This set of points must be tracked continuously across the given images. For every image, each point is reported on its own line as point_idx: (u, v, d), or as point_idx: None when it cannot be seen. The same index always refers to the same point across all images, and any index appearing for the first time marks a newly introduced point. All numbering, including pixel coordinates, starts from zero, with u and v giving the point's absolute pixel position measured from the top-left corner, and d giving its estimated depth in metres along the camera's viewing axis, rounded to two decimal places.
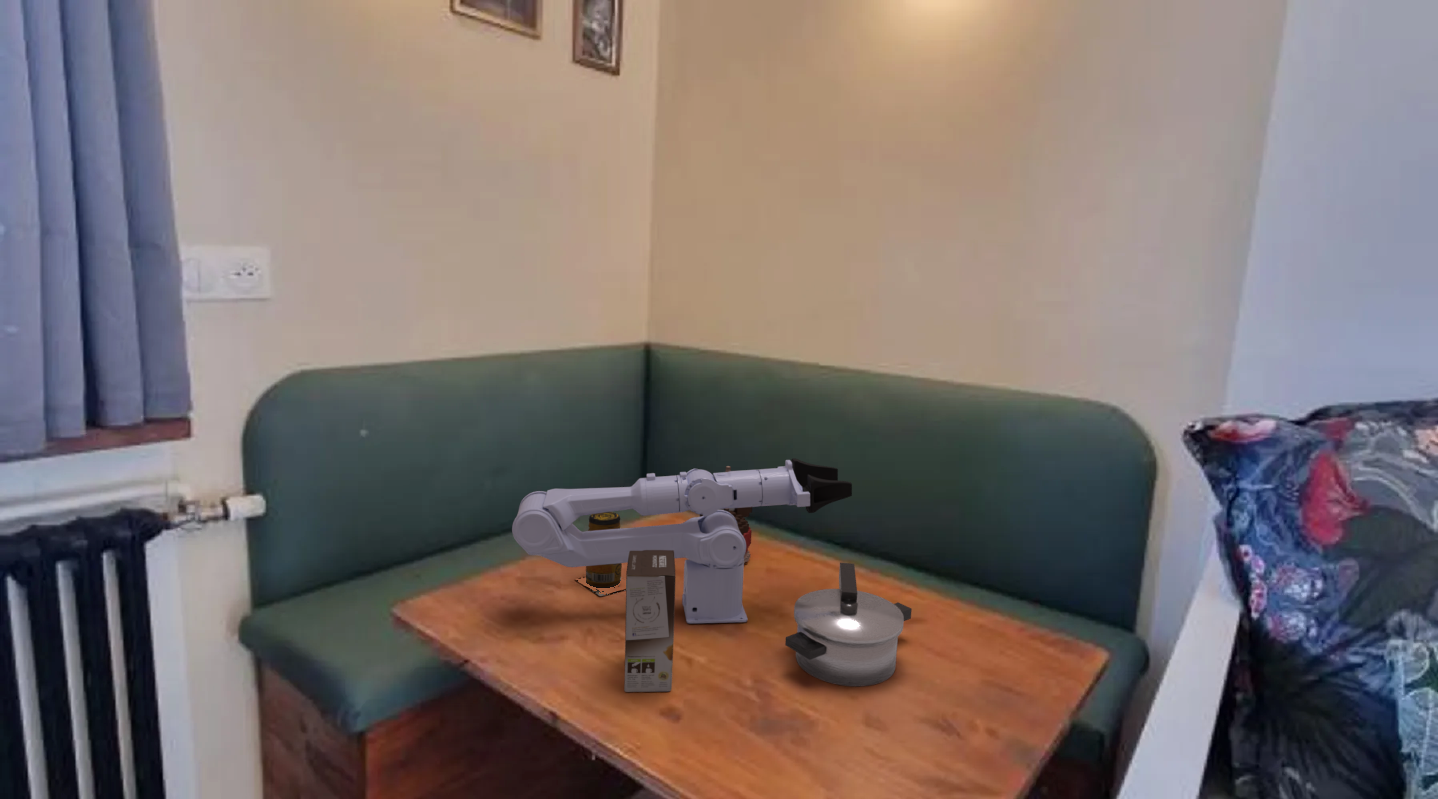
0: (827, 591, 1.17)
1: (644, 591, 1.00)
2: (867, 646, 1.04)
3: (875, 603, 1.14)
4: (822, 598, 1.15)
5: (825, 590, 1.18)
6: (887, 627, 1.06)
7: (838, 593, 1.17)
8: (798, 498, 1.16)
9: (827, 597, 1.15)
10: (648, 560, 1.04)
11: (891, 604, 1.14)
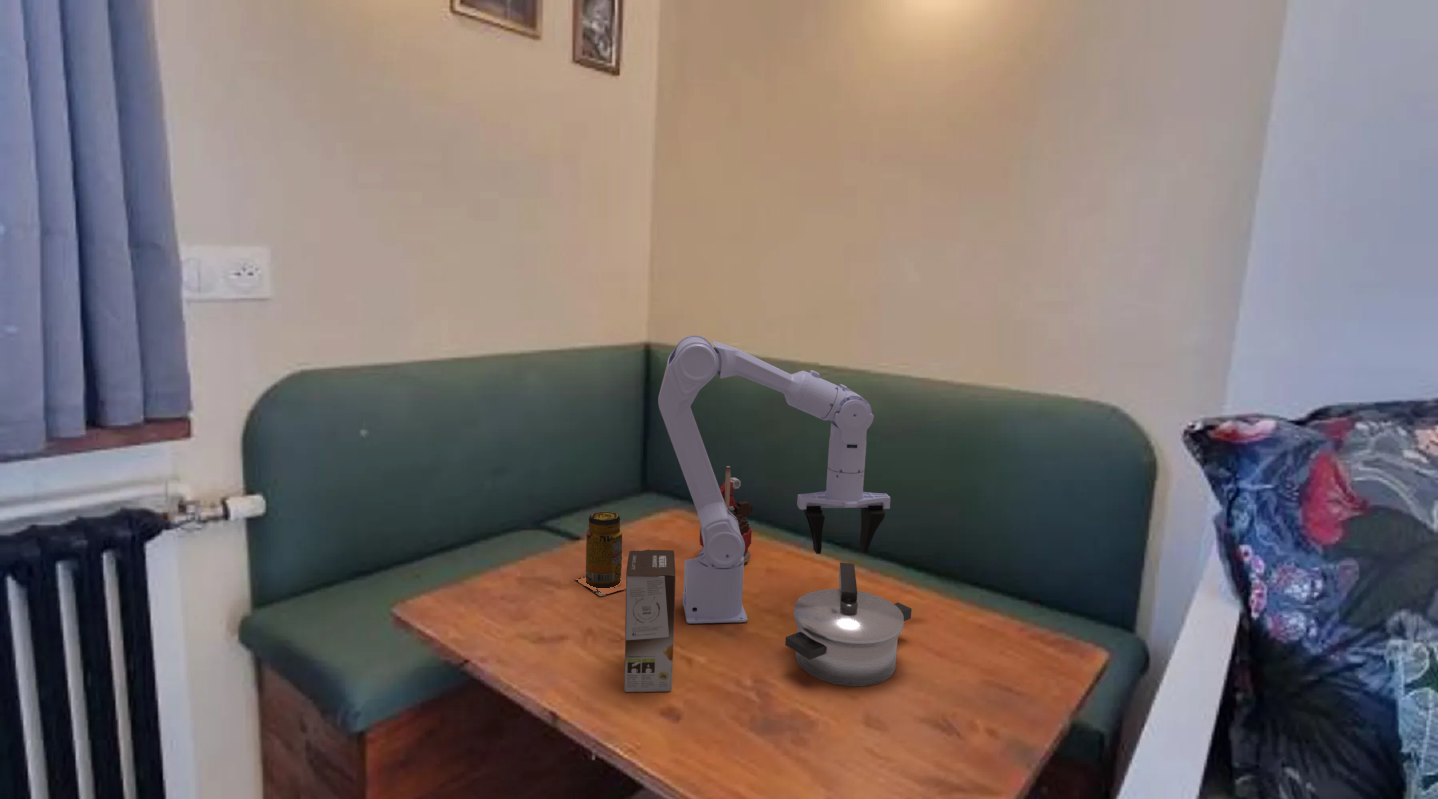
0: (827, 591, 1.17)
1: (644, 591, 1.00)
2: (867, 646, 1.04)
3: (875, 603, 1.14)
4: (822, 598, 1.15)
5: (825, 590, 1.18)
6: (887, 627, 1.06)
7: (838, 593, 1.17)
8: (799, 497, 1.22)
9: (827, 597, 1.15)
10: (648, 560, 1.04)
11: (891, 604, 1.14)
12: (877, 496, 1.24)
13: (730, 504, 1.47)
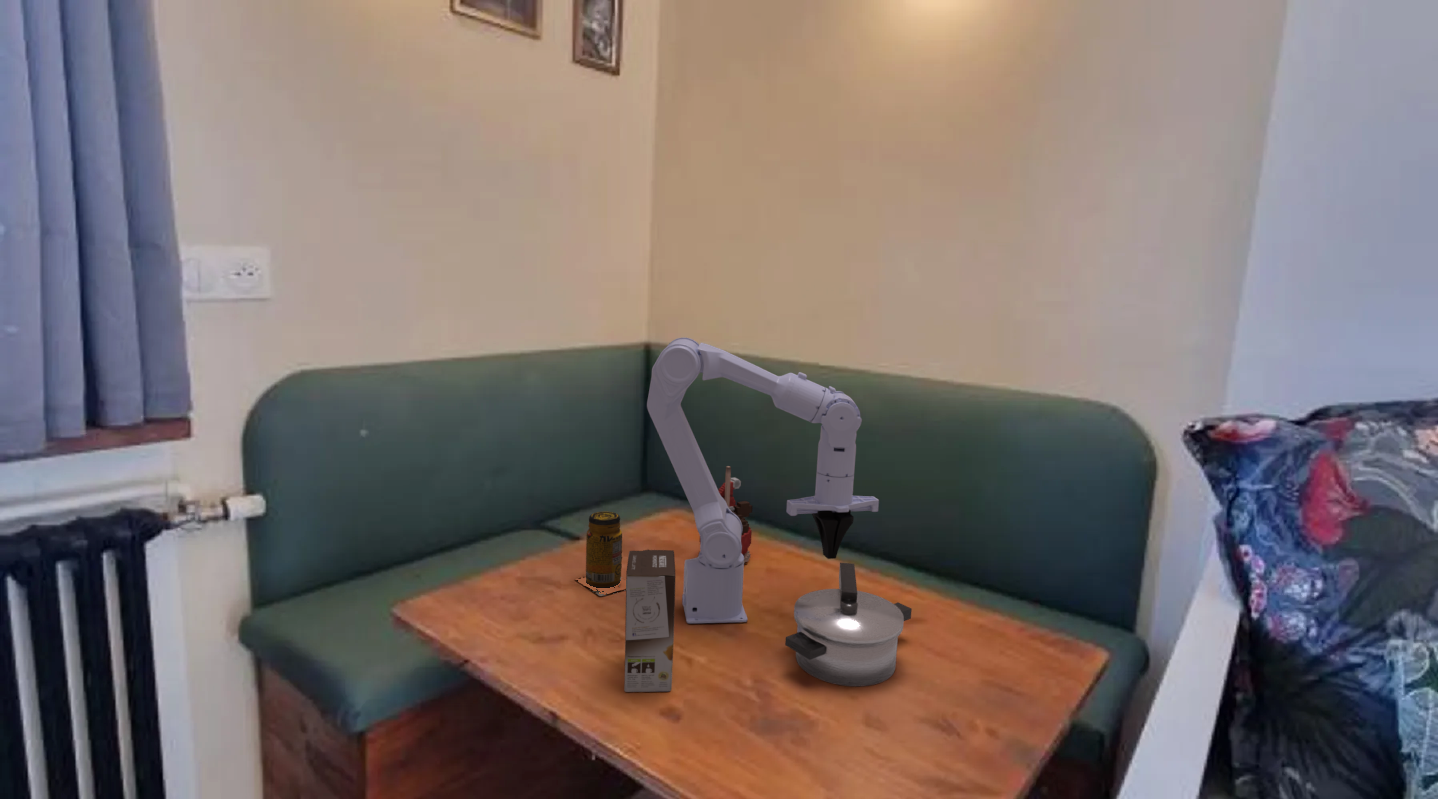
0: (827, 591, 1.17)
1: (644, 591, 1.00)
2: (867, 646, 1.04)
3: (875, 603, 1.14)
4: (822, 598, 1.15)
5: (825, 590, 1.18)
6: (887, 627, 1.06)
7: (838, 593, 1.17)
8: (790, 503, 1.19)
9: (827, 597, 1.15)
10: (648, 560, 1.04)
11: (891, 604, 1.14)
12: (865, 499, 1.23)
13: (730, 504, 1.47)
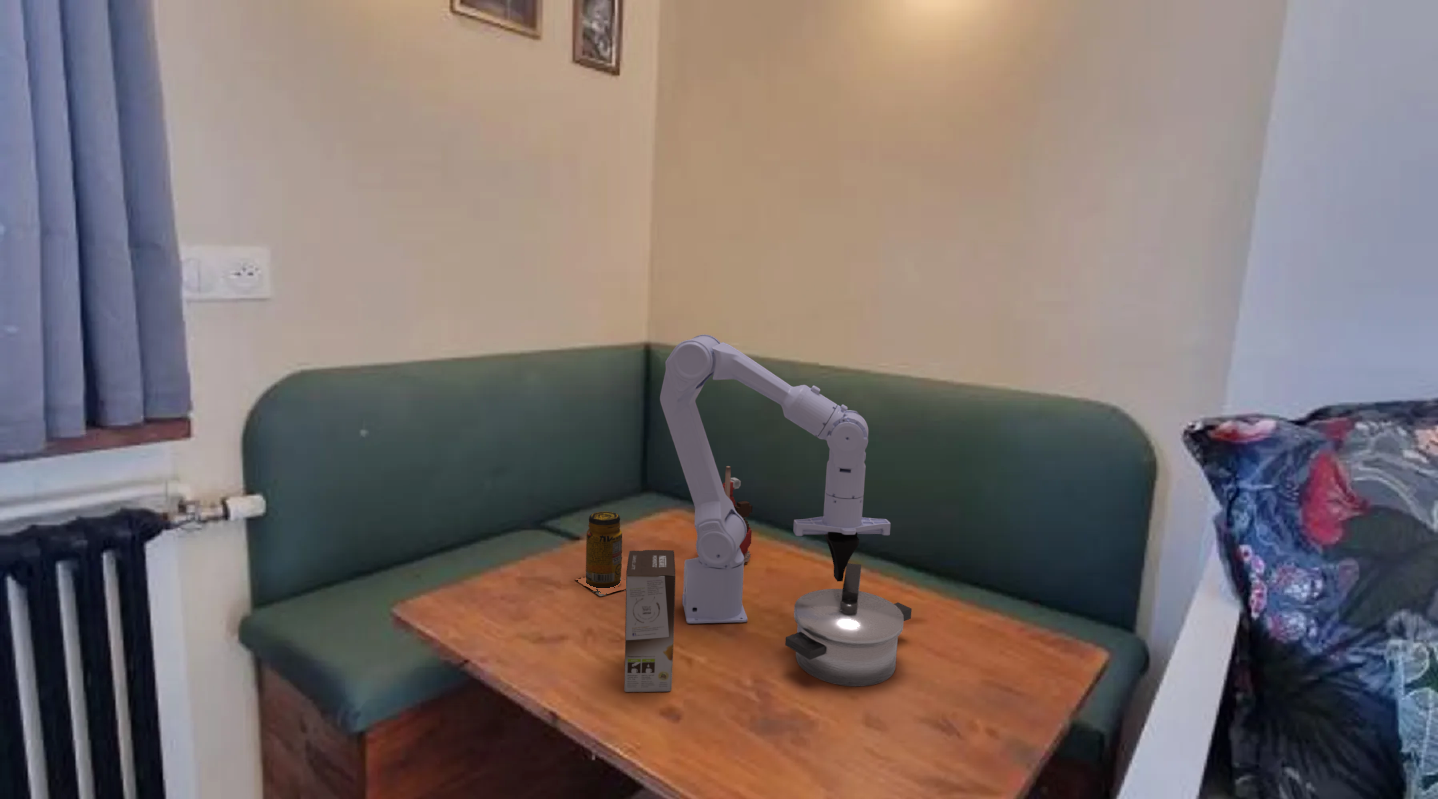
0: (831, 591, 1.17)
1: (644, 591, 1.00)
2: (867, 646, 1.04)
3: (877, 604, 1.13)
4: (824, 597, 1.15)
5: (829, 590, 1.18)
6: (884, 628, 1.06)
7: (842, 593, 1.17)
8: (795, 523, 1.18)
9: (830, 596, 1.15)
10: (648, 560, 1.04)
11: (893, 606, 1.13)
12: (877, 522, 1.19)
13: None
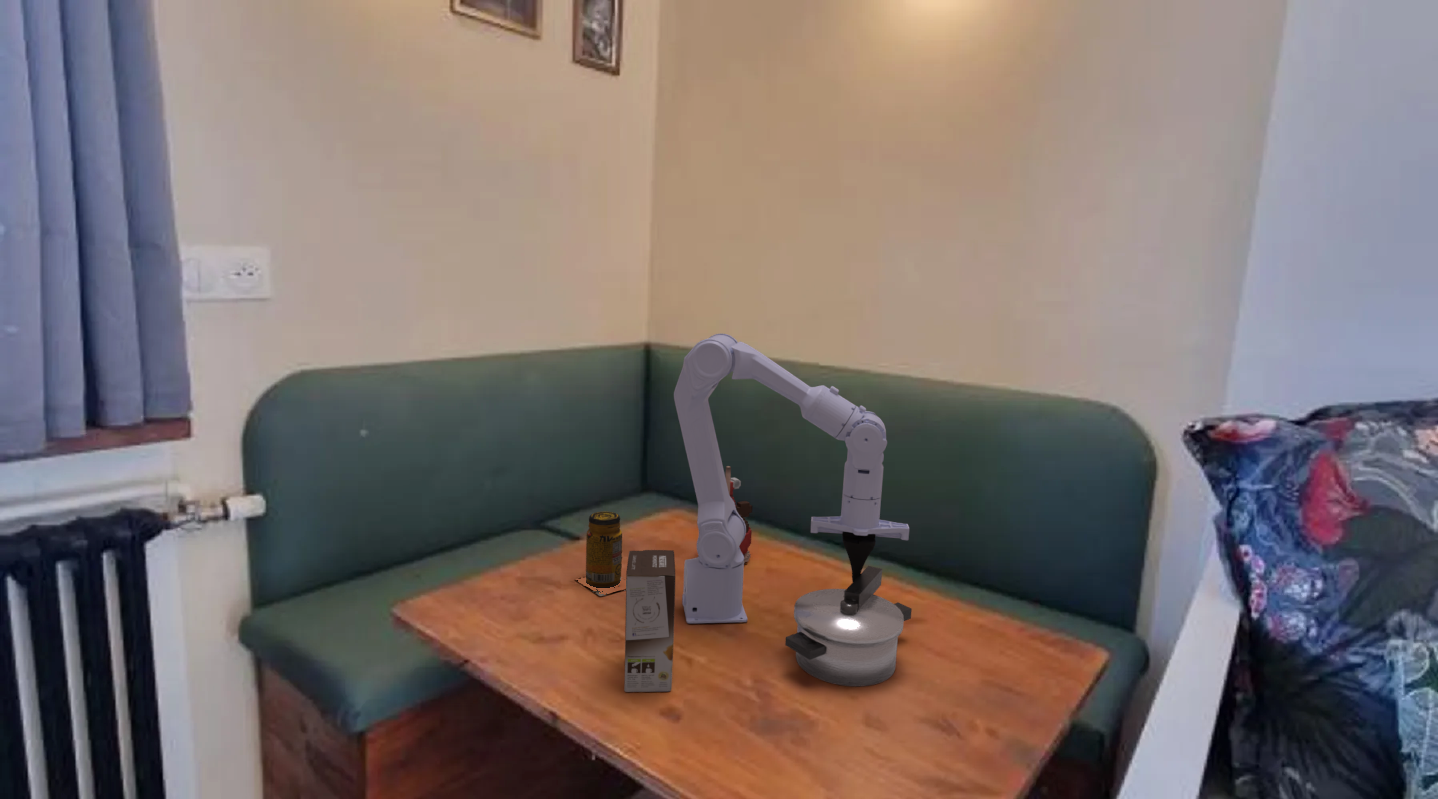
0: (843, 591, 1.18)
1: (644, 591, 1.00)
2: (867, 646, 1.04)
3: (883, 608, 1.12)
4: (832, 596, 1.16)
5: (842, 590, 1.18)
6: (874, 631, 1.05)
7: None
8: (811, 520, 1.19)
9: (838, 596, 1.16)
10: (648, 560, 1.04)
11: (899, 612, 1.11)
12: (896, 526, 1.18)
13: None
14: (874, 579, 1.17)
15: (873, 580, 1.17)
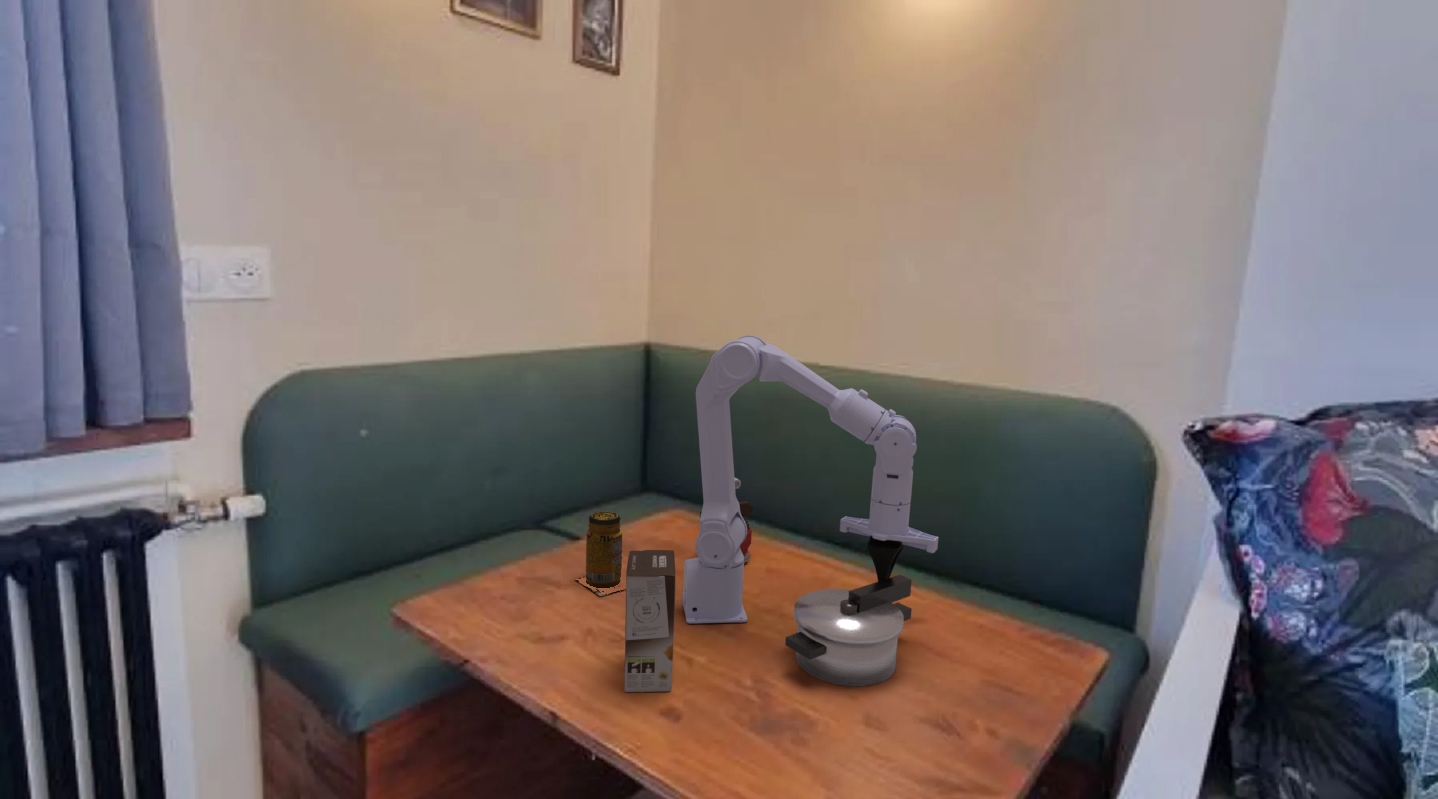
0: None
1: (644, 591, 1.00)
2: (867, 646, 1.04)
3: (886, 616, 1.10)
4: (847, 596, 1.16)
5: None
6: (855, 632, 1.05)
7: None
8: (842, 519, 1.20)
9: None
10: (648, 560, 1.04)
11: (899, 622, 1.08)
12: (923, 537, 1.14)
13: None
14: (894, 587, 1.14)
15: (891, 588, 1.14)
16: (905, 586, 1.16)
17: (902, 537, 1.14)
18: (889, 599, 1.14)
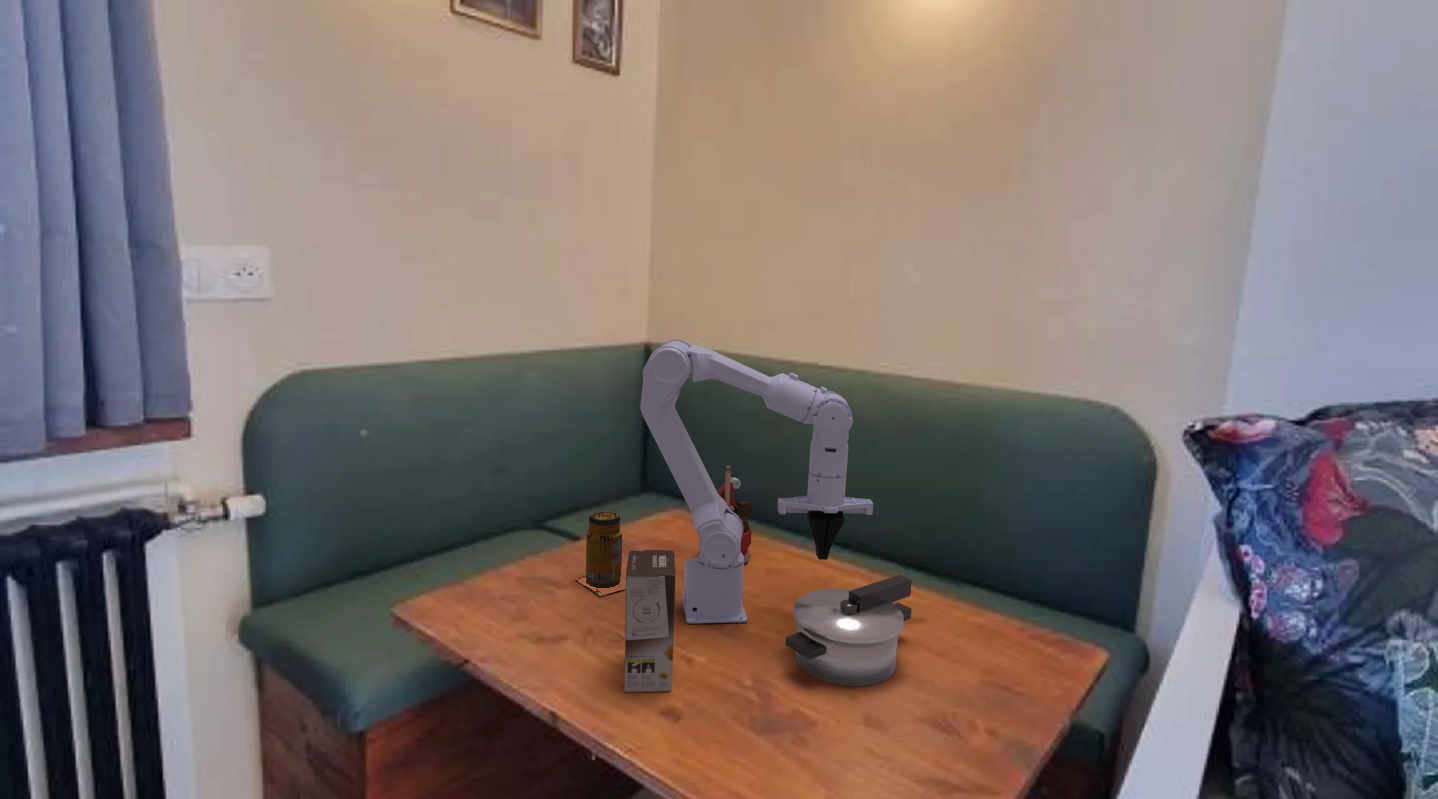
0: None
1: (644, 591, 1.00)
2: (867, 646, 1.04)
3: (886, 616, 1.10)
4: (847, 596, 1.16)
5: None
6: (855, 632, 1.05)
7: None
8: (779, 501, 1.20)
9: None
10: (648, 560, 1.04)
11: (899, 622, 1.08)
12: (860, 502, 1.21)
13: (730, 504, 1.47)
14: (894, 587, 1.14)
15: (891, 588, 1.14)
16: (905, 586, 1.16)
17: (847, 506, 1.19)
18: (889, 599, 1.14)
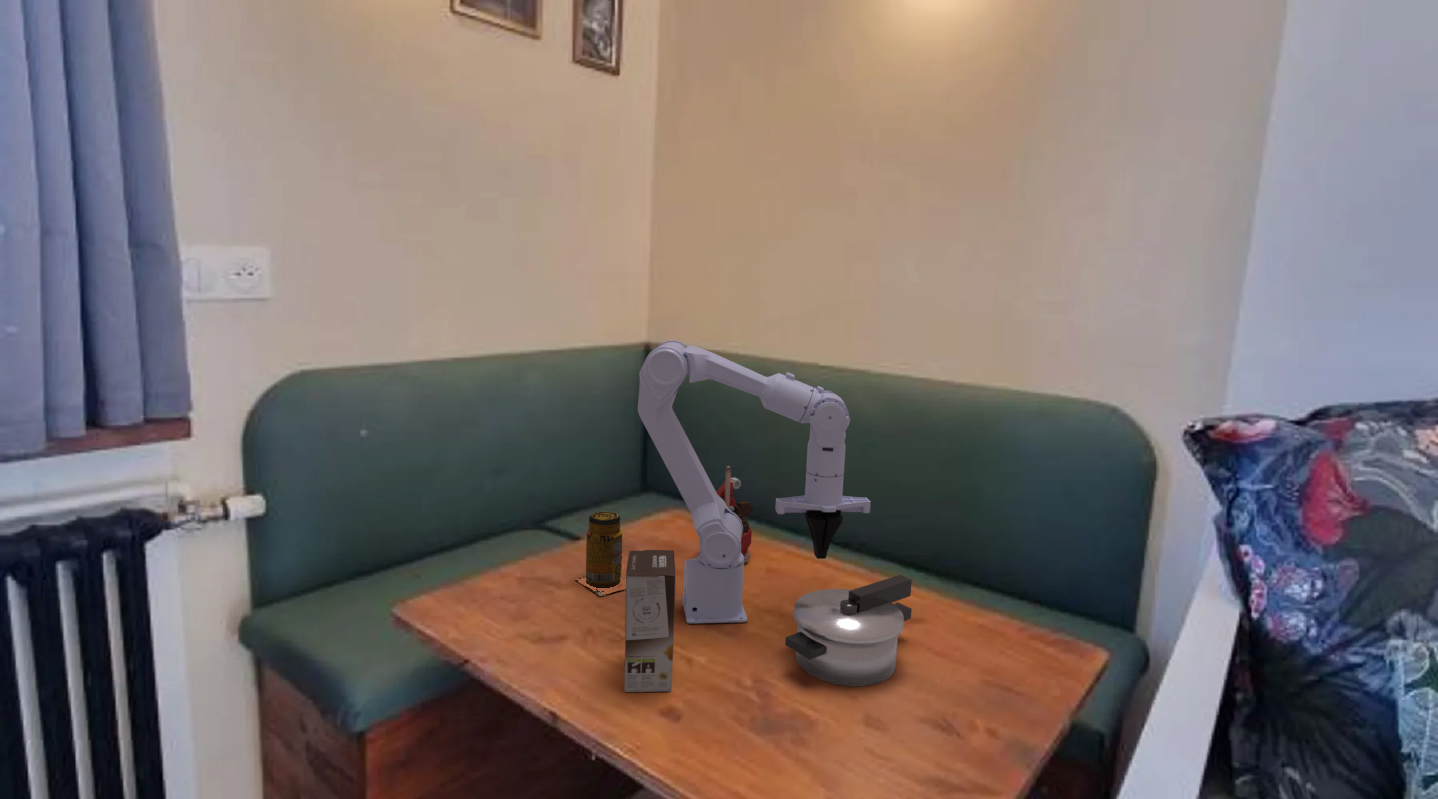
0: None
1: (644, 591, 1.00)
2: (867, 646, 1.04)
3: (886, 616, 1.10)
4: (847, 596, 1.16)
5: None
6: (855, 632, 1.05)
7: None
8: (777, 501, 1.20)
9: None
10: (648, 560, 1.04)
11: (899, 622, 1.08)
12: (857, 500, 1.22)
13: (730, 504, 1.47)
14: (894, 587, 1.14)
15: (891, 588, 1.14)
16: (905, 586, 1.16)
17: (845, 505, 1.20)
18: (889, 599, 1.14)
